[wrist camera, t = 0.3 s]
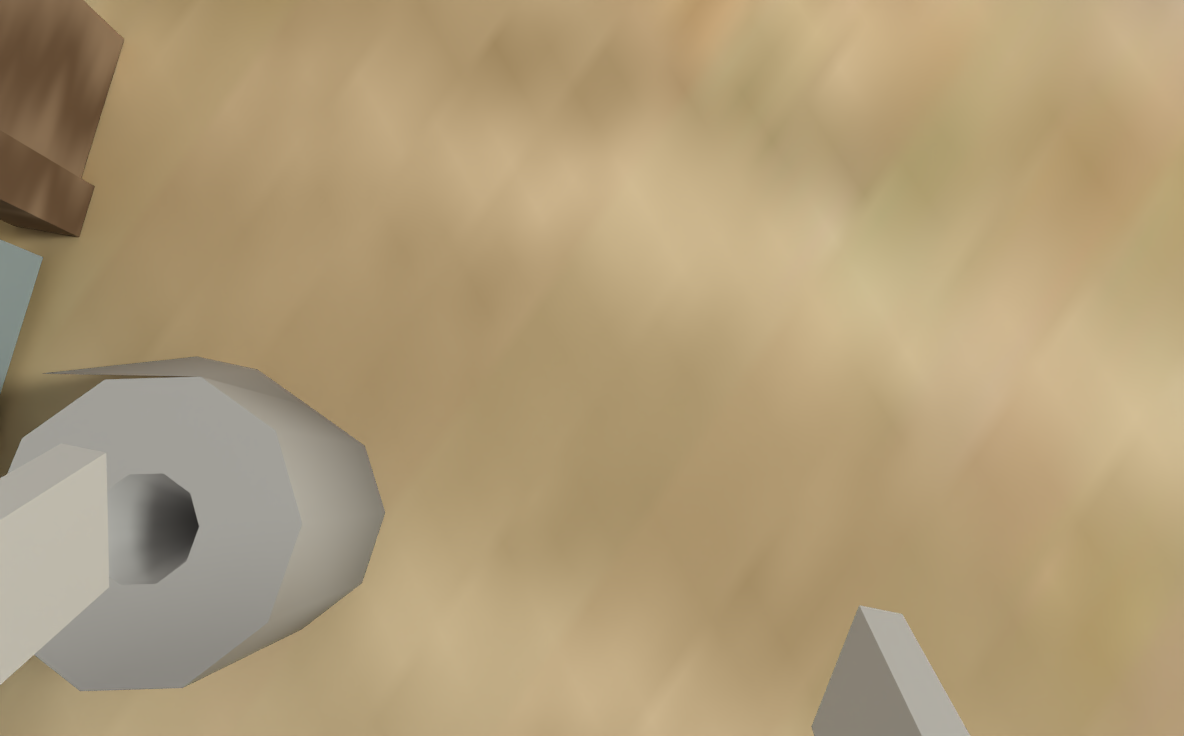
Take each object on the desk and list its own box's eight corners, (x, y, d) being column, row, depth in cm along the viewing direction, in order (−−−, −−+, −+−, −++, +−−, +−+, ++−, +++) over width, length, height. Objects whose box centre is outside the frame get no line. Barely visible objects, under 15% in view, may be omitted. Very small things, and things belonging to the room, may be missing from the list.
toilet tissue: (181, 315, 31) (27, 252, 23) (427, 490, 30) (361, 492, 22) (43, 489, 30) (-173, 491, 22) (293, 679, 29) (168, 760, 20)
